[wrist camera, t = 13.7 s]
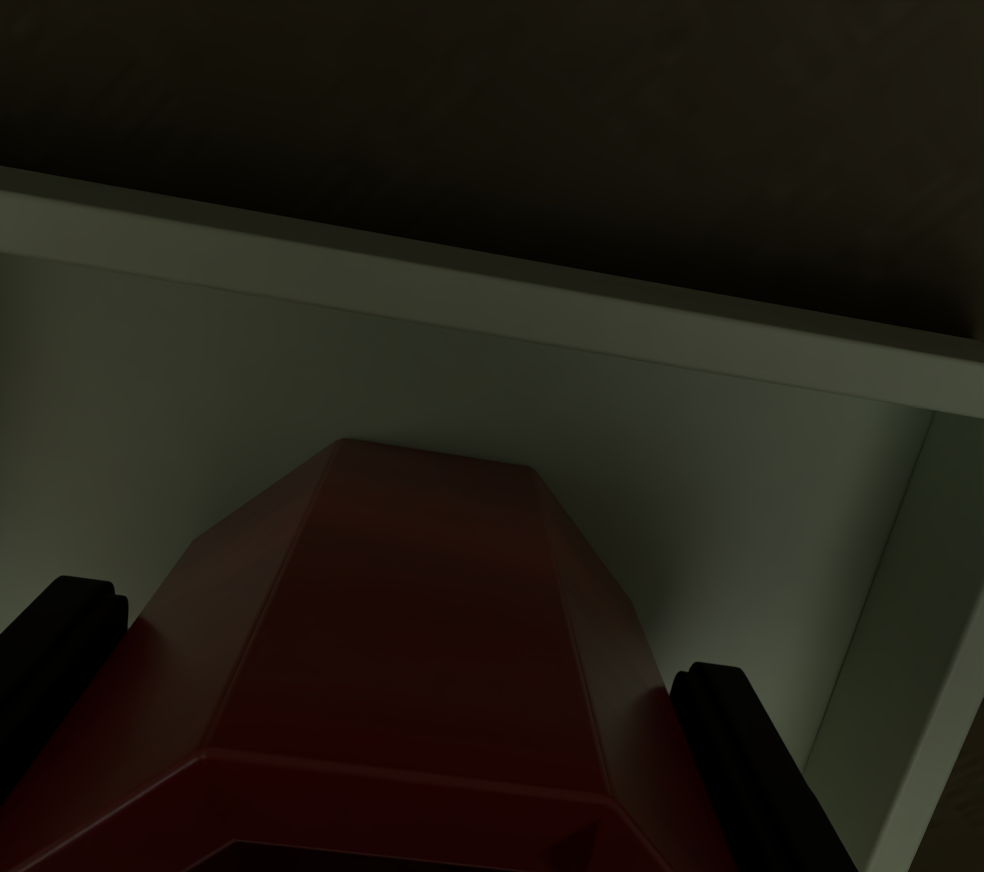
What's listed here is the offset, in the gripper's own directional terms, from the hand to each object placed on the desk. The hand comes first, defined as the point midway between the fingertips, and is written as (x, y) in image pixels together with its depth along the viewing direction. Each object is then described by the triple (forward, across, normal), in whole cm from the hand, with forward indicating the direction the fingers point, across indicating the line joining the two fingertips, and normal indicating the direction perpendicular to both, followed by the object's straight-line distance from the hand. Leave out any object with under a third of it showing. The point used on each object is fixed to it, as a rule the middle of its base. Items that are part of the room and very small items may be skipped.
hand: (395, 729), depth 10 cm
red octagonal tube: (+2, 0, 0) cm, 2 cm away
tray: (+2, 0, 0) cm, 2 cm away
